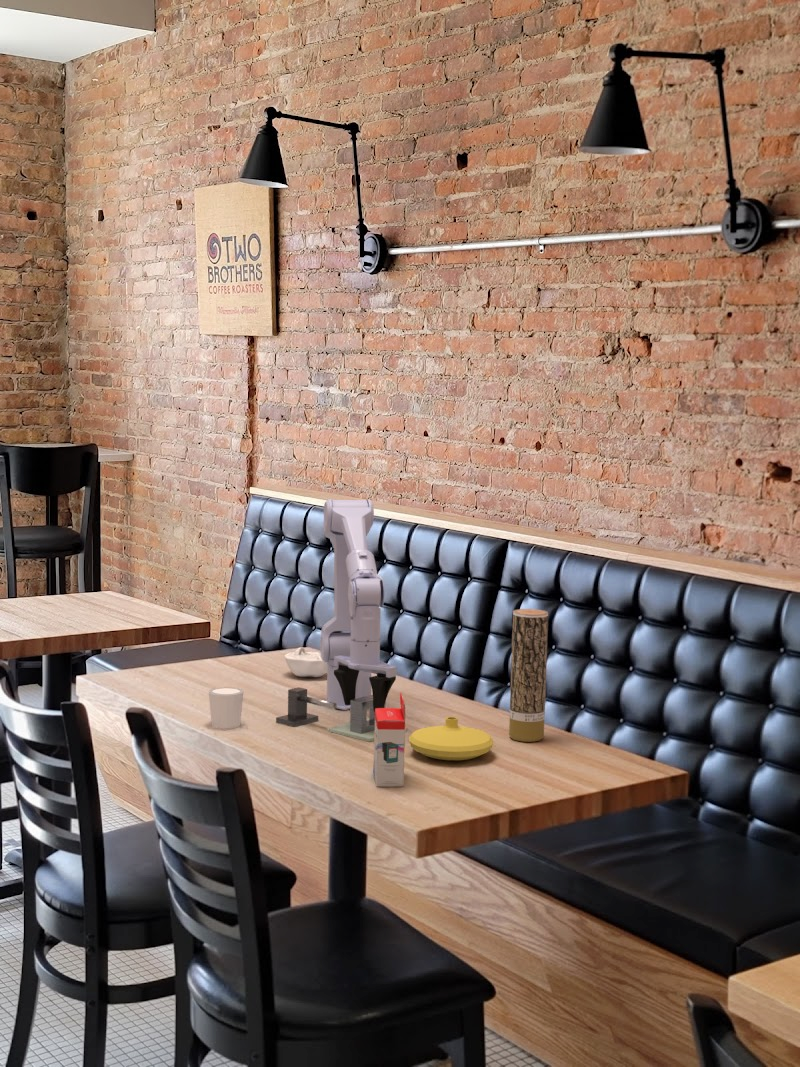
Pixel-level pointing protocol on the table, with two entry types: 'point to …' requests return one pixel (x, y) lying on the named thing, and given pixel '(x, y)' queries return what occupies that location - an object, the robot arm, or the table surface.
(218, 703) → the white cup
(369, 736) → the coaster
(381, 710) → the ink box
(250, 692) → the table surface
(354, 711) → the grey hollow frame block
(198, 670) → the table surface
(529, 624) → the paper tube
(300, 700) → the post
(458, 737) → the vase
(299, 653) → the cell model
